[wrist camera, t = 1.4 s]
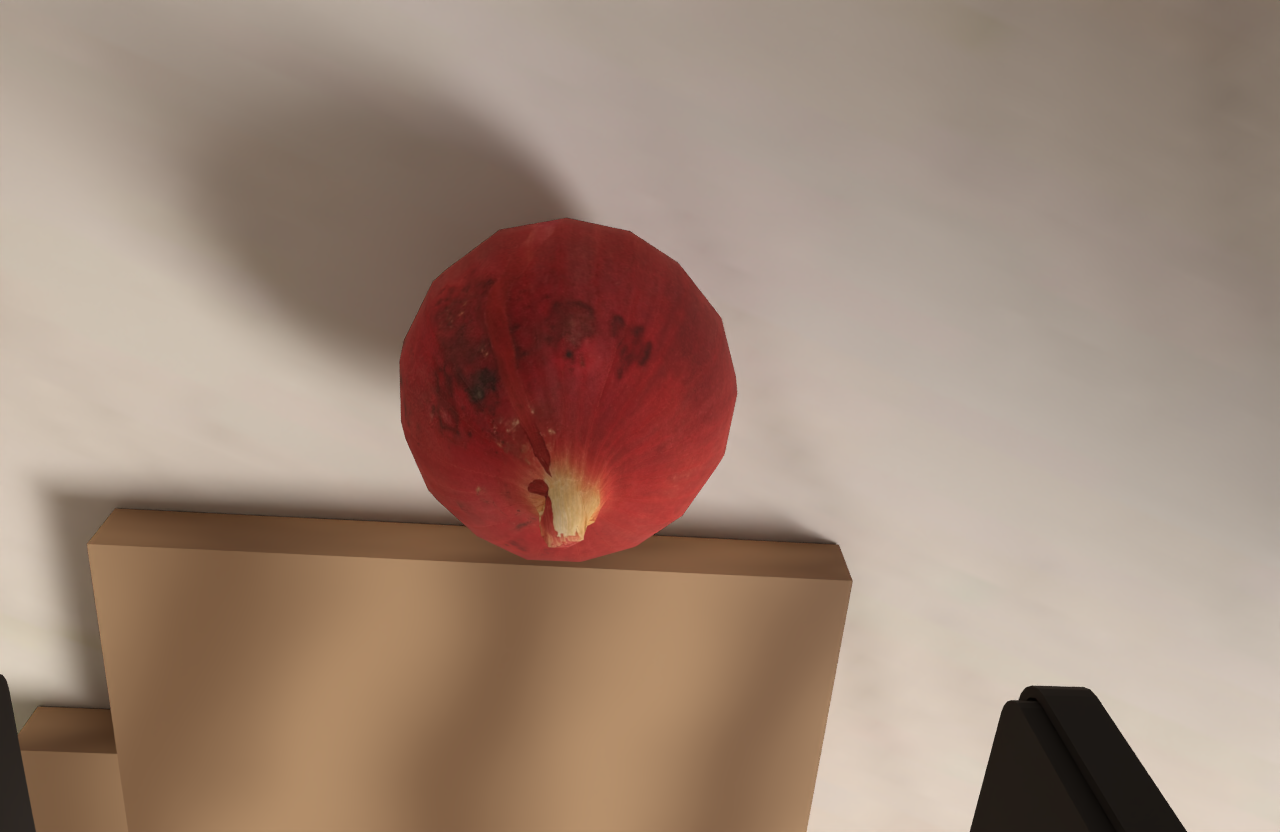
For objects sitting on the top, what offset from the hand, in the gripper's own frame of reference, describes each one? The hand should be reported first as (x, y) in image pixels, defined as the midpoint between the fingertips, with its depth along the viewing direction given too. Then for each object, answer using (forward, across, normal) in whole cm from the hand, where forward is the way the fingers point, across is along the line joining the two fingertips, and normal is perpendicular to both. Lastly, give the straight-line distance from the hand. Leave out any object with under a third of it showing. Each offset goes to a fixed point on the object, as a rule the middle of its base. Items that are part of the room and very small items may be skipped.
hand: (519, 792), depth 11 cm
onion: (+14, -1, 0) cm, 14 cm away
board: (+14, +2, +13) cm, 19 cm away
